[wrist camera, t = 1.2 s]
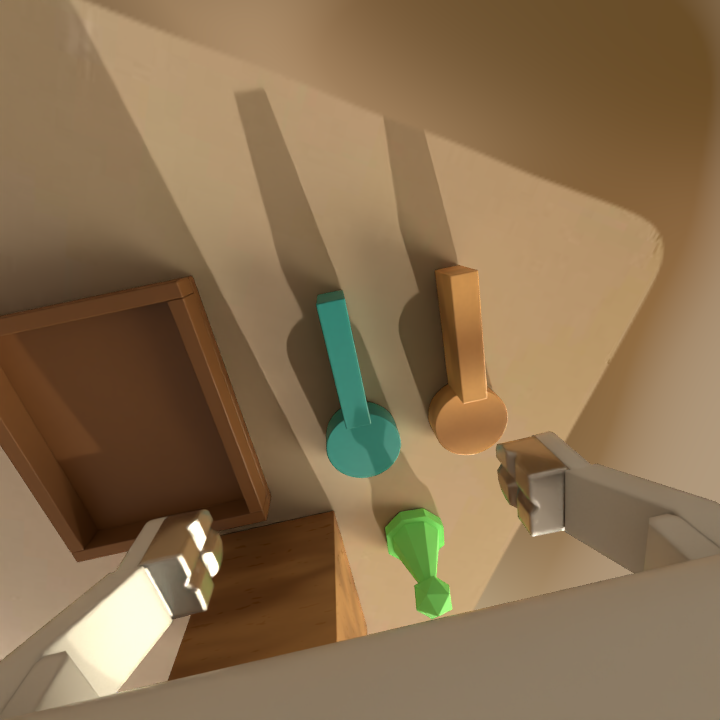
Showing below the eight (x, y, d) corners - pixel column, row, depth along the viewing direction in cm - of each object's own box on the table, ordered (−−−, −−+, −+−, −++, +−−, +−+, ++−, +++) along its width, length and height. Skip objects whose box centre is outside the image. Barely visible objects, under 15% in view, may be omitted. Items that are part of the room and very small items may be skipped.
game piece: (393, 503, 25) (413, 584, 19) (451, 512, 25) (486, 593, 20) (376, 550, 26) (390, 638, 20) (431, 557, 27) (459, 645, 21)
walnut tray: (-31, 322, 18) (-74, 333, 16) (192, 275, 18) (176, 280, 16) (97, 534, 23) (76, 562, 21) (271, 496, 24) (266, 521, 22)
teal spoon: (289, 300, 19) (284, 311, 17) (369, 283, 19) (375, 291, 17) (334, 468, 23) (335, 496, 21) (400, 454, 23) (409, 480, 21)
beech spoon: (407, 275, 19) (418, 282, 17) (486, 259, 19) (509, 263, 17) (432, 447, 23) (444, 472, 21) (497, 432, 23) (517, 456, 21)
